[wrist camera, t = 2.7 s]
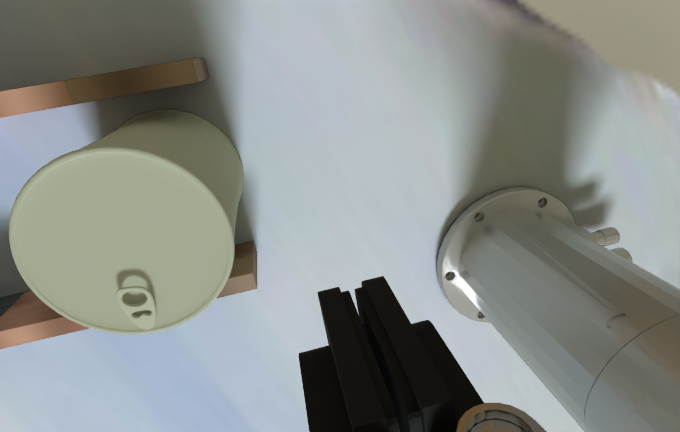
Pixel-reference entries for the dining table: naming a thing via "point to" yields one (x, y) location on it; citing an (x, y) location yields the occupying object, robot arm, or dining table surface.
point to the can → (132, 225)
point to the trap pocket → (8, 302)
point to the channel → (30, 311)
